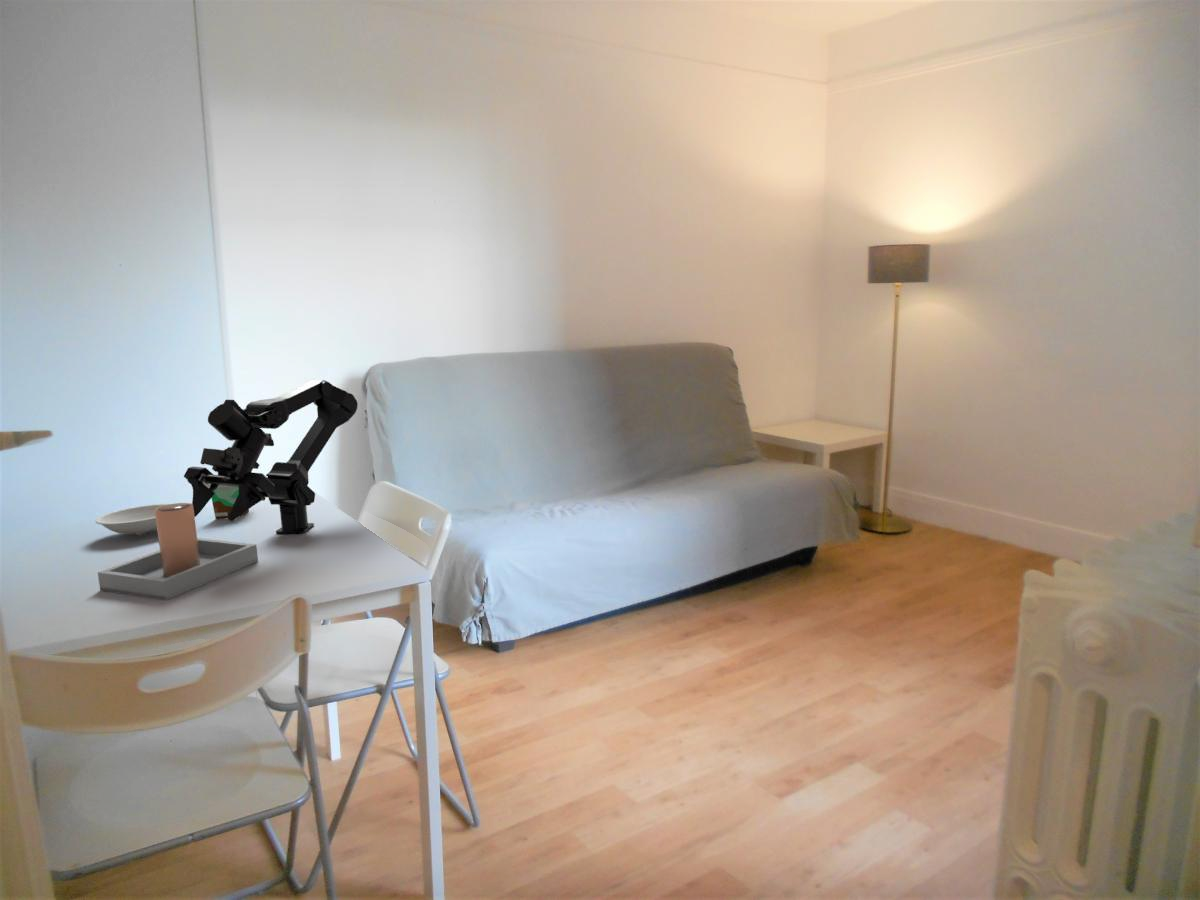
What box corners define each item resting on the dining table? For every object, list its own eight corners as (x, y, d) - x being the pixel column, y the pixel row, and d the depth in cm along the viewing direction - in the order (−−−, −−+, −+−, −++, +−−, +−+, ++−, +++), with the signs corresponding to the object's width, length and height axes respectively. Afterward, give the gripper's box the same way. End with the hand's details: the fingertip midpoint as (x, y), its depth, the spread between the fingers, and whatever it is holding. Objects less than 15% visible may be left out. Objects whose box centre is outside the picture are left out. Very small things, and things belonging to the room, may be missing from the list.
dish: (166, 520, 202) (164, 500, 201) (195, 530, 194) (192, 509, 193) (87, 538, 189) (84, 517, 188) (114, 549, 180) (110, 527, 179)
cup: (194, 563, 167) (186, 500, 164) (206, 571, 162) (197, 506, 160) (158, 572, 163) (149, 507, 160) (169, 580, 158) (160, 513, 155)
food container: (234, 521, 200) (229, 481, 198) (211, 520, 201) (206, 480, 199) (264, 508, 211) (260, 469, 210) (242, 507, 213) (238, 469, 211)
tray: (196, 553, 176) (194, 537, 175) (258, 560, 170) (256, 544, 169) (100, 590, 155) (97, 572, 155) (166, 600, 149) (163, 581, 149)
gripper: (185, 428, 172) (148, 494, 164) (260, 434, 167) (225, 503, 159) (217, 457, 181) (183, 520, 174) (289, 464, 176) (258, 530, 168)
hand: (211, 518), depth 168 cm, fingers open, 9 cm apart
